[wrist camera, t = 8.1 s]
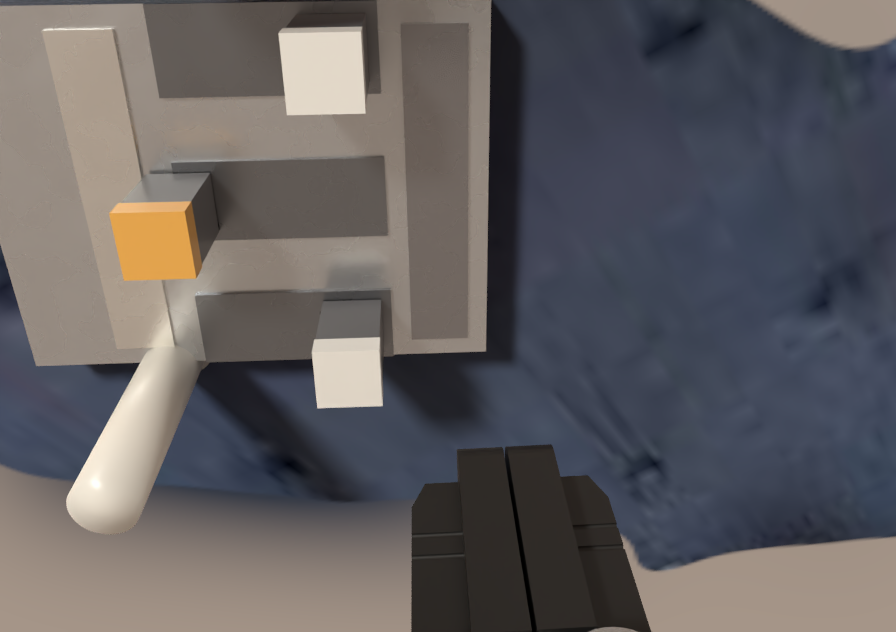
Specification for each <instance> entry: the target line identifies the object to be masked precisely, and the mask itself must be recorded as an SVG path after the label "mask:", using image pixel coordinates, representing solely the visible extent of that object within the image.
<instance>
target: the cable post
mask: <svg viewBox="0 0 896 632" xmlns="http://www.w3.org/2000/svg"><path fill="white" fill-rule="evenodd" d="M209 363H210V362H206V361H196V359H195V357H194V356H193V355H192V354H191V353H190V352H189V351H187V350H186V349H184V348H182V347H180V346H177V345H175V347H173V346H160V347H156V348H151V349H149V350H148V351H147V352H146V354H145V355H144V357H143V359H142V361H141V363H140V364H139V366H138V368H137V370H136V372H135V374H134V375H133V377H132V379H131V381H130V383H129V384H128V386H127V388H126V390H125V392H124V394H123V395H122V397H121V399H120V401H119V403H118V405H117V406H116V408H115V410H114V412H113V414H112V416H111V417H110V419H109V421H108V423H107V425H106V426H105V428H104V430H103V432H102V434H101V436H100V437H99V439H98V441H97V443H96V445H95V447H94V448H93V450H92V452H91V454H90V456H89V458H88V459H87V461H86V463H85V465H84V467H83V469H82V470H81V472H80V474H79V476H78V478H77V479H76V481H75V483H74V485H73V487H72V489H71V490H70V492H69V494H68V497H67V502H66V503H67V509H68V512H69V514H70V516H71V517H72V518H73V519H74V521H76V522H77V523H78V524H79V525H80V526H82V527H83V528H85V529H87V530H89V531H92V532H95V533H99V534H110V535H111V534H119V533H123V532H125V531H127V530H129V529H131V528H132V527H133V526H135V524H136V523H137V522H138V520H139V518H140V516H141V513H142V511H143V508H144V506H145V504H146V501H147V499H148V496H149V494H150V491H151V489H152V487H153V484H154V482H155V479H156V477H157V475H158V472H159V470H160V467H161V465H162V463H163V460H164V458H165V455H166V453H167V451H168V448H169V446H170V443H171V441H172V439H173V436H174V434H175V431H176V429H177V427H178V424H179V422H180V419H181V417H182V415H183V412H184V410H185V407H186V405H187V403H188V400H189V398H190V395H191V393H192V390H193V388H194V386H195V383H196V381H197V378H198V376H199V374H200V371H201V370H202V369H204V368H205V367H206V366H207V365H208V364H209Z"/></svg>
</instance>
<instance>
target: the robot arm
mask: <svg viewBox="0 0 896 632" xmlns="http://www.w3.org/2000/svg"><path fill="white" fill-rule="evenodd" d="M457 470H458V482H453V483H433V484H425V485H424V487H423V489H422V491H421V492H420V494H419V496H418V498H417V499H416V501H415V503H414V504H413V506H412V632H651V630H650V627H649V624H648V621H647V618H646V614H645V611H644V608H643V605H642V602H641V599H640V596H639V592H638V589H637V587H636V583H635V580H634V577H633V574H632V570H631V567H630V564H629V561H628V558H627V555H626V552H625V549H623V542H622V539H621V536H620V533H619V530H618V528H617V526H616V520H615V517H614V514H613V511H612V508H611V504H610V501H609V498H608V496H607V495H606V494H605V493H604V492H603V491H602V490H601V489H600V488H599V487H598V486H597V485H596V484H595V483H594V482H593V481H592V479H591V478H590V477H589V476H588V475H586V476H567V477H560V473H559V469H558V465H557V461H556V457H555V453H554V450H553V447H552V445H532V446H512V447H506V448H505V458H504V452H503V448H502V447H496V448H476V449H457Z"/></svg>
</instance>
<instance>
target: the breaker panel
mask: <svg viewBox="0 0 896 632" xmlns="http://www.w3.org/2000/svg"><path fill="white" fill-rule="evenodd" d="M347 13H366V31H367V49H368V67H369V88H368V94H367V109H366V114H325V115H287V111H286V102H285V92H284V82H283V73H282V63H281V54H280V44H279V35H278V33H279V32H280V31H281V29H282V28H286V26H287V25H288V24H289V23H290V21H291V20H292V19H293V18H294V16H295V15H296V14H347ZM490 44H491V0H0V244H1V248H2V251H3V255H4V258H5V261H6V265H7V268H8V272H9V275H10V278H11V282H12V285H13V289H14V292H15V295H16V299H17V302H18V305H19V309H20V312H21V316H22V319H23V322H24V326H25V329H26V333H27V336H28V339H29V343H30V346H31V349H32V353H33V356H34V360H35V363H36V366H52V365H83V364H114V363H141V361H142V359H143V357H144V355H145V354H146V352H147V351H148V350H149V349H151V348H156V347H160V346H173V347H175V345H177V346H180V347H182V348H184V349H186V350H187V351H189V352H190V353H191V354H192V355H193V356H194V357H195V359H196V361H206V362H235V361H266V360H296V359H312V348H313V343H314V339H316V335H317V329H318V324H319V319H320V314H321V309H322V304H323V301H353V300H381V304H382V323H383V341H384V357H389V356H394V354H422V353H453V352H484V351H486V316H487V248H488V180H489V112H490ZM178 173H210V175H211V182H212V188H213V195H214V201H215V208H216V214H217V221H218V227H219V233H218V235H217V237H216V239H215V241H214V243H213V245H212V246H211V248H210V250H209V252H208V254H207V256H206V258H205V260H204V262H203V264H202V269H201V271H200V273H199V275H198V277H197V278H196V279H167V280H132V281H124V279H123V274H122V270H121V265H120V261H119V256H118V252H117V247H116V243H115V238H114V234H113V229H112V225H111V220H110V216H109V213H110V212H111V210H112V209H113V208H114V207H115V206H116V205H117V204H118V203H121V202H122V201H123V200H124V198H125V197H126V196H127V195H128V194H129V193H130V192H131V191H132V189H133V188H134V187H135V186H136V185H137V184H138V183H139V181H140V180H141V179H142V178H143V177H144V176H145V175H146V174H178Z"/></svg>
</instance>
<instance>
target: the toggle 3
mask: <svg viewBox="0 0 896 632" xmlns="http://www.w3.org/2000/svg"><path fill="white" fill-rule="evenodd" d="M312 360H313V370H314V380H315V389H316V399H317V408H338V407H367V406H383V360H384V341H383V323H382V304H381V300H353V301H323V304H322V309H321V314H320V319H319V324H318V329H317V335H316V339H314V343H313V348H312Z"/></svg>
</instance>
